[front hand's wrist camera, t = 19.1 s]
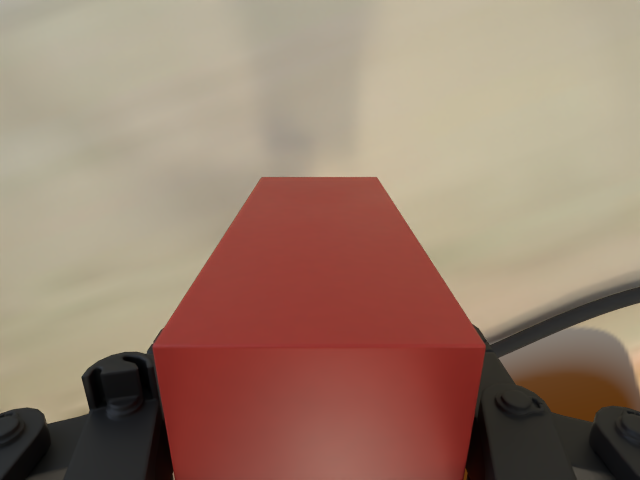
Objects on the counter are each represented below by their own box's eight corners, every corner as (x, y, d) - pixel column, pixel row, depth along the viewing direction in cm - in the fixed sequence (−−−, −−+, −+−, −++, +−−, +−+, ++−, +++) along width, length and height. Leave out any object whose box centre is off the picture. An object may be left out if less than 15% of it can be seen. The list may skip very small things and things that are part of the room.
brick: (377, 176, 16) (487, 345, 6) (370, 318, 19) (439, 630, 8) (261, 176, 16) (150, 346, 6) (268, 318, 19) (199, 630, 8)
